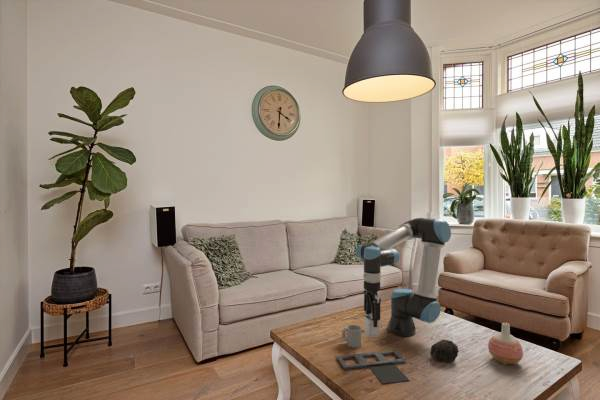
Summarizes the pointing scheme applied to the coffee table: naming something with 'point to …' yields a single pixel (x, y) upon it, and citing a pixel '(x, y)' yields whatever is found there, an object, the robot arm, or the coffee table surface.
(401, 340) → the coffee table surface
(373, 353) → the rail
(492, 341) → the vase
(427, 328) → the coffee table surface
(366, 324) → the grey rectangular block
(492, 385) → the coffee table surface
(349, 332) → the cup
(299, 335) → the coffee table surface
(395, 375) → the rubber mat
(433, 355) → the rock
